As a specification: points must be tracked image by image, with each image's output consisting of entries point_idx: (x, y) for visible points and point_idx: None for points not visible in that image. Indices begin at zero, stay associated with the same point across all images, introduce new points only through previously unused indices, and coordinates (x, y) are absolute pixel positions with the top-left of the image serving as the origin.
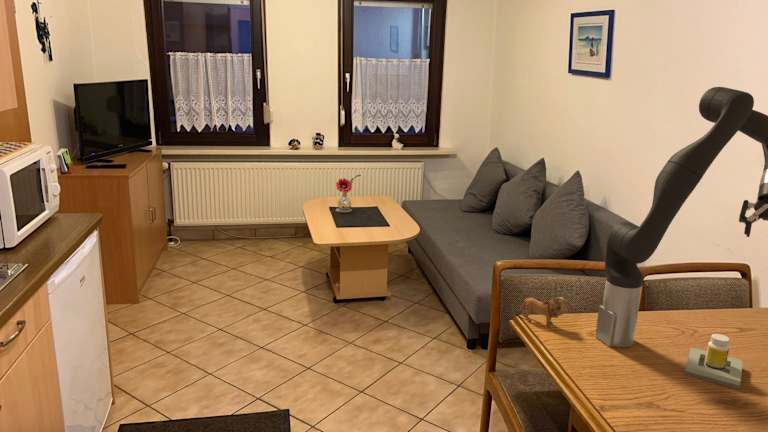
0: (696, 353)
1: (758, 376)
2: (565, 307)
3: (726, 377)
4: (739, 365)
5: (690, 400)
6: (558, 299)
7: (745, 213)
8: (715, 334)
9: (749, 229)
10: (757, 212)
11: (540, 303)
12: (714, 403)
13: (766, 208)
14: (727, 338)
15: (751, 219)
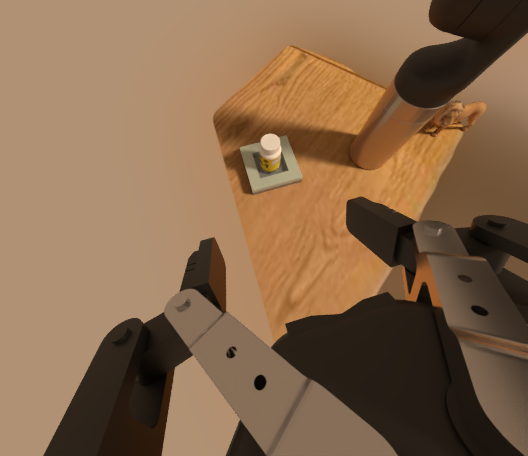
0: (292, 168)
1: (235, 190)
2: (439, 111)
3: (251, 144)
4: (250, 176)
5: (263, 108)
6: (456, 101)
7: (521, 249)
8: (277, 144)
9: (366, 205)
10: (463, 267)
11: (465, 105)
12: (248, 117)
13: (465, 348)
14: (263, 144)
15: (420, 231)
